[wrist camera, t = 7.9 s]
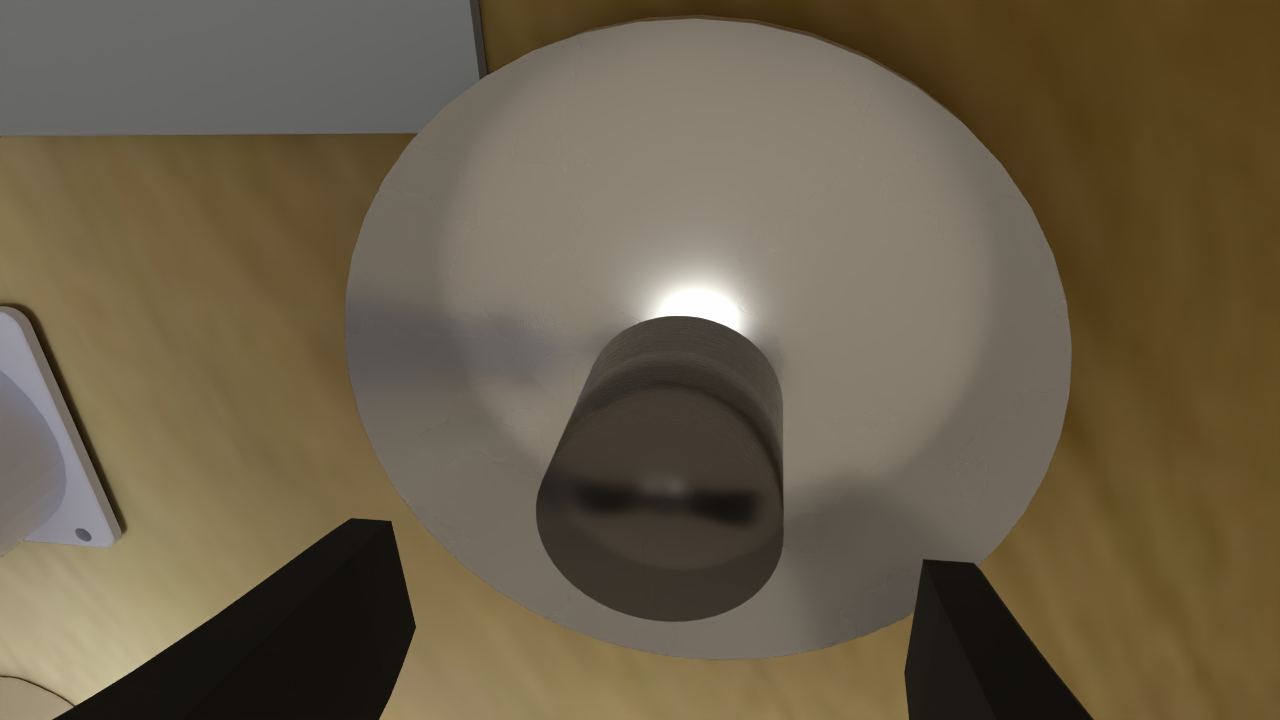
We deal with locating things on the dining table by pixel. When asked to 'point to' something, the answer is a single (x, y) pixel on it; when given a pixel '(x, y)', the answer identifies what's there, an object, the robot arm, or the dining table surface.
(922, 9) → the dining table surface
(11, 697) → the roll
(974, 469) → the steel lid
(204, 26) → the slate mat
